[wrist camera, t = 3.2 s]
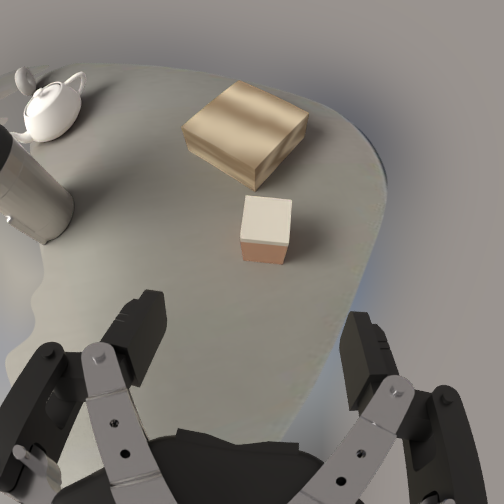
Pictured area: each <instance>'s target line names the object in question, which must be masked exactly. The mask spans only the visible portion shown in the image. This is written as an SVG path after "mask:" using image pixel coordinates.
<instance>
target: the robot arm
mask: <svg viewBox="0 0 504 504" xmlns="http://www.w3.org/2000/svg"><path fill="white" fill-rule="evenodd" d="M73 210H74V202H73V198H72V196H71V195H70V194H69V193H68V192H67V191H66V189H65V188H64V187H62V186H61V185H60V184H59V183H58V182H57V181H56V180H55V179H54V178H53V177H52V176H51V175H50V174H49V173H48V172H47V171H46V170H45V169H44V168H43V167H42V166H41V165H40V164H39V163H38V162H37V161H36V160H35V159H34V158H33V157H32V156H31V155H30V154H29V153H28V152H27V151H26V150H25V149H24V148H23V147H22V146H21V145H20V144H19V142H18V141H17V140H16V139H15V138H14V137H13V136H12V135H11V134H10V133H9V132H8V131H7V129H6V128H5V127H4V126H2V125H0V213H2V214H3V215H5V218H6V220H7V222H8V223H9V224H10V225H11V226H13V227H14V228H16V229H18V230H19V231H21V232H22V233H24V234H26V235H27V236H29V237H31V238H32V239H34V240H36V241H38V242H39V243H41V244H42V245H44V244H45V243H46V242H47V241H49V240H52V239H54V238H56V237H58V236H59V235H60V234H61V233H62V232H63V231H64V230H65V229H66V227H67V226H68V224H69V222H70V220H71V218H72V214H73ZM166 327H167V316H166V308H165V300H164V294H163V292H160V291H154V290H147V289H146V290H145V291H144V292H143V294H142V295H141V296H140V298H139V299H133V300H131V301H130V302H128V303H127V304H126V305H125V306H124V307H123V308H122V310H121V311H120V314H118V316H117V317H116V319H115V320H114V321H113V323H112V324H111V326H110V327H109V329H108V330H107V332H106V333H105V335H104V336H103V338H102V339H101V341H100V342H97V343H93V344H90V345H89V346H87V347H86V348H85V349H84V350H83V352H64V349H63V347H62V346H61V345H60V344H59V343H56V342H48V343H45V344H43V345H41V346H40V347H39V348H38V349H37V350H36V351H35V353H34V354H33V356H32V357H31V359H30V360H29V362H28V363H27V365H26V366H25V368H24V369H23V371H22V372H21V374H20V375H19V377H18V379H17V380H16V382H15V383H14V385H13V387H12V388H11V390H10V392H9V393H8V395H7V397H6V398H5V400H4V402H3V403H2V405H1V407H0V492H2V493H4V494H5V495H7V496H9V497H10V498H12V499H14V500H16V501H17V502H19V503H21V504H364V503H363V502H362V501H361V500H360V499H359V497H360V496H361V494H362V493H363V492H364V490H365V489H366V487H367V485H368V484H369V483H370V481H371V480H372V478H373V477H374V475H375V474H376V472H377V470H378V469H379V467H380V466H381V464H382V462H383V461H384V459H385V457H386V455H387V454H388V452H389V450H390V449H391V447H392V445H393V443H394V441H395V439H396V438H401V439H402V440H403V447H404V454H405V461H406V469H407V478H408V487H409V498H410V504H488V502H487V496H486V491H485V485H484V480H483V475H482V470H481V466H480V462H479V457H478V453H477V450H476V446H475V442H474V439H473V435H472V432H471V428H470V425H469V422H468V419H467V416H466V413H465V409H464V407H463V404H462V401H461V398H460V396H459V394H458V392H457V391H456V390H455V389H454V388H452V387H450V386H447V385H441V386H438V387H436V388H435V390H434V391H433V392H432V393H429V392H424V391H419V390H415V389H414V387H413V385H412V383H411V382H410V381H409V380H408V379H406V378H404V377H402V376H399V373H398V370H397V367H396V364H395V361H394V358H393V355H392V352H391V350H390V347H389V344H388V343H387V338H386V336H385V333H384V331H383V330H382V329H381V328H380V327H379V326H378V325H377V324H372V323H371V320H370V318H369V315H368V313H367V312H353V311H351V312H350V313H349V314H348V317H347V320H346V323H345V326H344V329H343V332H342V335H341V339H340V347H339V349H340V355H341V362H342V366H343V372H344V379H345V385H346V391H347V398H348V403H349V411H355V410H358V411H359V419H358V420H357V421H356V423H355V424H354V426H353V427H352V428H351V430H350V431H349V433H348V434H347V435H346V437H345V438H344V439H343V441H342V442H341V443H340V445H339V446H338V447H337V448H336V450H335V451H334V452H333V453H332V455H331V456H330V457H329V458H328V460H327V461H326V462H325V463H324V462H323V461H321V460H320V459H318V458H317V457H315V456H313V455H311V454H309V453H305V452H303V451H299V443H286V442H270V441H268V442H261V443H253V444H243V445H235V444H232V443H229V442H227V441H224V440H221V439H219V438H216V437H214V436H211V435H209V434H205V433H199V432H194V431H189V430H184V429H179V428H178V430H177V433H176V435H171V436H164V437H159V438H156V439H153V440H149V438H148V435H147V433H146V431H145V429H144V427H143V424H142V422H141V419H140V417H139V414H138V412H137V409H136V407H135V404H134V402H133V399H132V396H131V393H130V391H129V388H130V386H131V385H133V386H137V387H140V386H141V384H142V381H143V379H144V377H145V375H146V373H147V370H148V368H149V366H150V364H151V362H152V359H153V357H154V355H155V353H156V351H157V348H158V346H159V344H160V342H161V340H162V338H163V336H164V334H165V331H166ZM52 391H53V392H52ZM51 393H52V394H51ZM83 402H86V404H87V408H88V413H89V417H90V421H91V424H92V428H93V432H94V435H95V439H96V442H97V446H98V449H99V452H100V455H101V458H102V461H103V464H104V467H103V468H102V469H100V470H98V471H96V472H94V473H92V474H91V475H89V476H87V477H85V478H83V479H81V480H79V481H77V482H75V483H73V484H71V485H69V486H67V487H65V488H63V489H62V490H61V486H60V485H61V484H62V480H61V471H60V468H59V466H58V465H57V463H58V460H59V458H60V455H61V453H62V450H63V448H64V445H65V443H66V440H67V438H68V436H69V433H70V431H71V429H72V426H73V424H74V422H75V419H76V417H77V415H78V413H79V410H80V408H81V406H82V404H83Z"/></svg>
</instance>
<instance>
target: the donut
mask: <svg viewBox="0 0 504 504" xmlns="http://www.w3.org/2000/svg"><path fill="white" fill-rule="evenodd" d="M15 82H16V85H17V87H18V89H19V90H20V92H21V93H22V94H24V95H25V96H31V95H32V94H34V92H35V90H36V82H35V79H34V76H33V75H32V73H31V72H30V70H29V69H27V68H26V67H21V68H19V69H18V70H17V72H16V74H15Z"/></svg>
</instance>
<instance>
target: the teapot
mask: <svg viewBox="0 0 504 504" xmlns="http://www.w3.org/2000/svg"><path fill="white" fill-rule="evenodd" d="M79 76H81V86H80V88H79V91H78V92H76V91H75V90H74V89H73V88H71V87H70V86H68V84H69V83H71V82H72V81H73V80H74V79H76V78H77V77H79ZM85 84H86V75H85V73H84V72H79V73H76V74H75V75H73V76H72V77H71V78H69V79H68V80H67V81H66V82H64V83H61V82H54V83H51V84H49V85H47V86H45V87H44V88H40V89H38V90H37V91H36V92H35V93H34V95H33V97H32V99H31V100H30V101H29V103H28V104H27V106H26V108H25V110H24V119H25V125H26V129H27V131H26V132H25V133H23V134H18V133H15V132H10V134H11V135H12V136H13V137H14V138H15V139H16V140H17V141H19V142H22V143H29V142H32V141H33V140H34V141H37V142H46V141H50V140H54V139H56V138H58V137H59V136H61V135H62V134H64V133H65V132H66V131H67V130H68V129H69V128H70V127H71V126H72V124H73V123H74V122H75V120H76V118H77V116H78V113H79V111H80V108H81V98H80V95H81V94H82V92H83V90H84V87H85Z"/></svg>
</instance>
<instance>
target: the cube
mask: <svg viewBox="0 0 504 504" xmlns="http://www.w3.org/2000/svg"><path fill="white" fill-rule="evenodd" d="M291 206H292V200H288V199H278V198H268V197H258V196H246V197H245V204H244V212H243V219H242V226H241V234H240V242H241V249H242V255H243V260H244V261H253V262H263V263H273V264H283V261H284V258H285V255H286V251H287V248H288V245H289V236H290V221H291Z"/></svg>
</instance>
